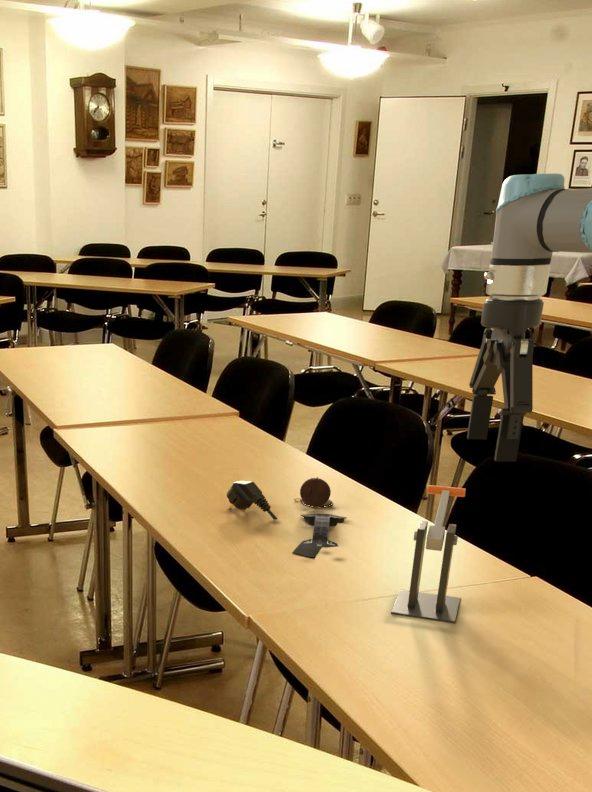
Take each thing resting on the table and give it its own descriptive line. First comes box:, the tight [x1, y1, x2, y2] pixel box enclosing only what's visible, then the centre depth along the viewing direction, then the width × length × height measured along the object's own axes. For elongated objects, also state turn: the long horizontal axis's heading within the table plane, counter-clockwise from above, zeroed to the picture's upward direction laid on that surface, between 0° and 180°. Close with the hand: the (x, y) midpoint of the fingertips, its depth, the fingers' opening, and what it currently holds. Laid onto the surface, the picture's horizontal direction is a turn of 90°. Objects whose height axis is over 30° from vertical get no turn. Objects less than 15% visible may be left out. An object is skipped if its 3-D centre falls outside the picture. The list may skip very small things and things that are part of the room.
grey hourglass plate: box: [291, 512, 348, 559], centre depth 173 cm, size 9×25×3 cm, turn 163°
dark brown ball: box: [293, 476, 334, 509], centre depth 191 cm, size 8×8×7 cm
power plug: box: [226, 480, 278, 520], centre depth 188 cm, size 6×8×12 cm
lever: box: [425, 484, 467, 552], centre depth 139 cm, size 13×6×2 cm, turn 154°
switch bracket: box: [390, 520, 462, 624], centre depth 138 cm, size 10×9×14 cm
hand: (490, 449), depth 133 cm, fingers open, 13 cm apart
